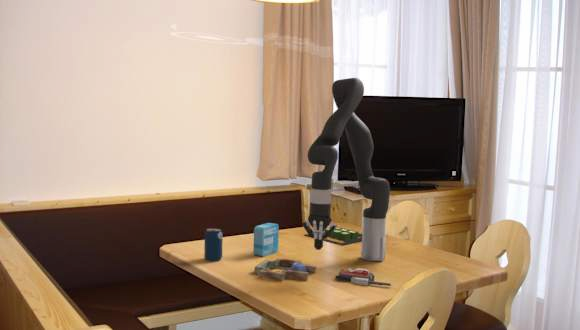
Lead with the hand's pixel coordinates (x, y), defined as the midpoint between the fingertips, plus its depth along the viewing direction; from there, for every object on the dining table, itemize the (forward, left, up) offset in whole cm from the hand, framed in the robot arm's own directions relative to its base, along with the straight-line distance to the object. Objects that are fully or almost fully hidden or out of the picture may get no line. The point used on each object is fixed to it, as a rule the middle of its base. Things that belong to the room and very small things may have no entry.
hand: (318, 249), depth 213 cm
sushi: (+9, -68, -11) cm, 69 cm away
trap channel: (+12, 0, -10) cm, 16 cm away
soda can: (+44, -5, -11) cm, 46 cm away
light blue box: (+29, -23, -11) cm, 39 cm away
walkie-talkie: (-17, -2, -11) cm, 20 cm away
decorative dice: (+7, 0, -11) cm, 13 cm away
